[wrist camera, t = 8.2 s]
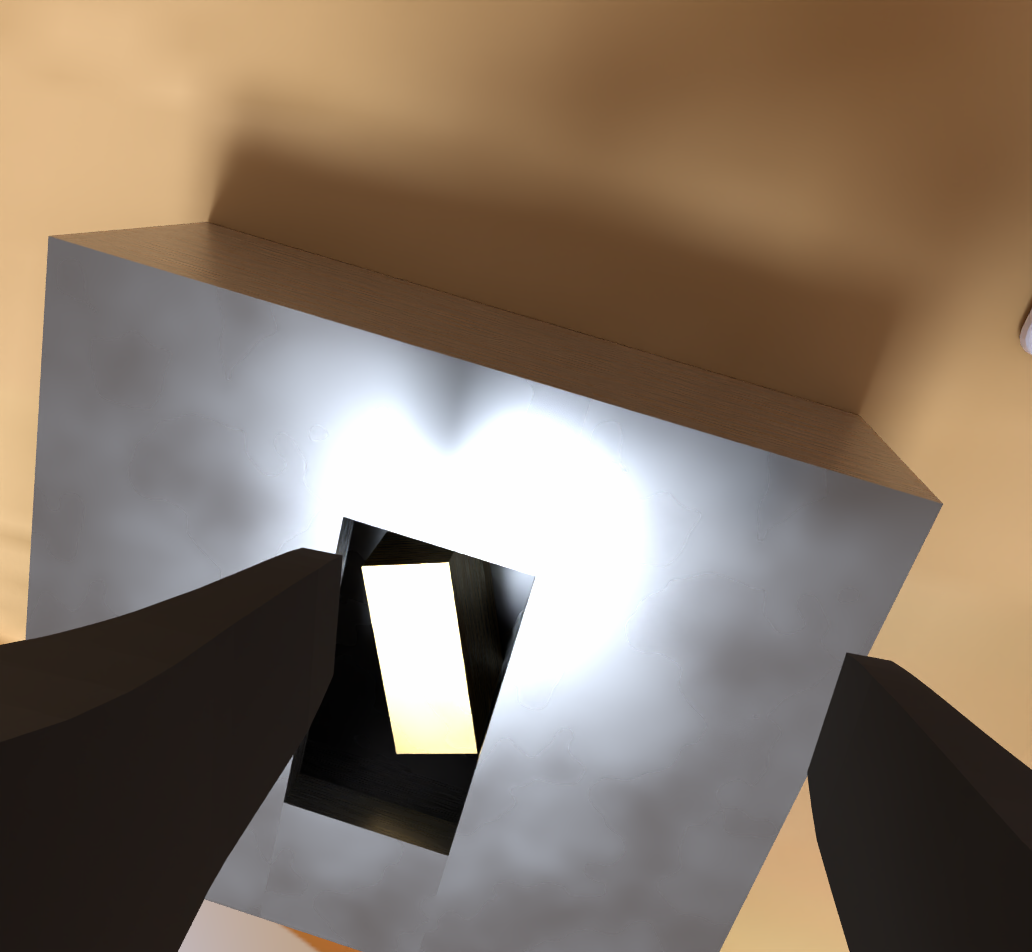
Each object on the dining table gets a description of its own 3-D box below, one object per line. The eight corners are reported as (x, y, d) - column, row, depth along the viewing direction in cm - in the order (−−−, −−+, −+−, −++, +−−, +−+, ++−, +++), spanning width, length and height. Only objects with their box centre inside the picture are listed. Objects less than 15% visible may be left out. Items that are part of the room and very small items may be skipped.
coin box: (858, 415, 20) (943, 503, 15) (662, 862, 26) (668, 1053, 20) (206, 221, 21) (48, 236, 15) (147, 697, 26) (14, 835, 21)
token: (481, 497, 22) (448, 562, 18) (502, 662, 23) (477, 753, 20) (408, 502, 22) (361, 566, 18) (435, 664, 24) (396, 753, 20)
